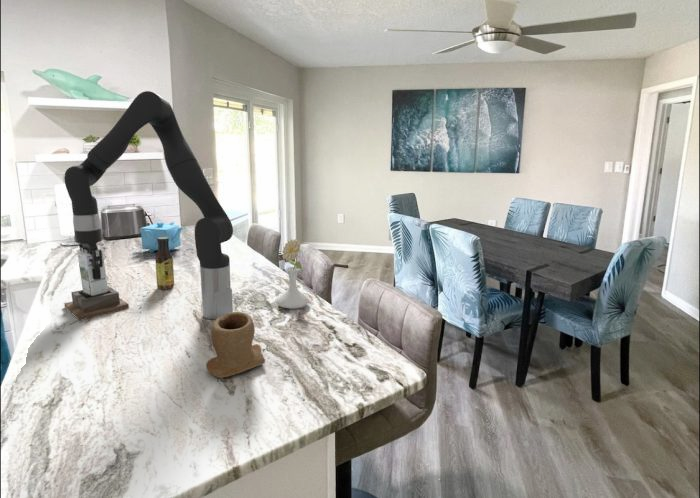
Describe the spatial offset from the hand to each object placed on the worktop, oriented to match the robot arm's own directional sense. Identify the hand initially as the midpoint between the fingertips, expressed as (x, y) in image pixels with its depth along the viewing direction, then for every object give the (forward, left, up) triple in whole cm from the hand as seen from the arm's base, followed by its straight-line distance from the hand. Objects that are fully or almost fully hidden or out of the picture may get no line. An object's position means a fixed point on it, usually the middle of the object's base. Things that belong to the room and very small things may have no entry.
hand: (93, 276), depth 145 cm
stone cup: (-68, -11, -11) cm, 70 cm away
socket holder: (0, 0, -11) cm, 11 cm away
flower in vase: (-45, -49, -11) cm, 67 cm away
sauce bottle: (+4, -26, -11) cm, 29 cm away
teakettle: (+59, -51, -11) cm, 79 cm away
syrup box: (0, 0, -6) cm, 6 cm away
